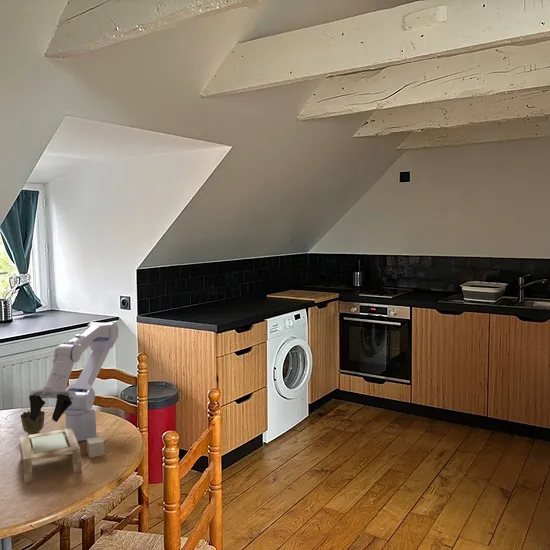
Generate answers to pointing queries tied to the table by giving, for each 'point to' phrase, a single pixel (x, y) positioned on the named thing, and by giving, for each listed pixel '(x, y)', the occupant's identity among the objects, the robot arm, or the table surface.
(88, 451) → the beige cube
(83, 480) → the table surface
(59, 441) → the flap
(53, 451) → the stand
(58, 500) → the table surface
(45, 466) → the table surface
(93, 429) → the robot arm
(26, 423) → the cup
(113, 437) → the table surface
